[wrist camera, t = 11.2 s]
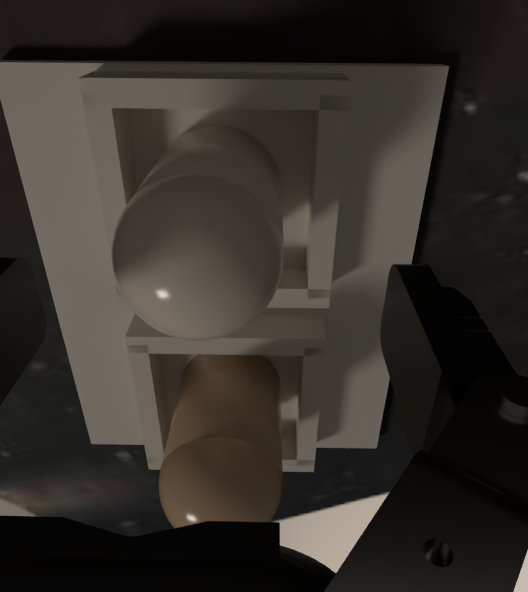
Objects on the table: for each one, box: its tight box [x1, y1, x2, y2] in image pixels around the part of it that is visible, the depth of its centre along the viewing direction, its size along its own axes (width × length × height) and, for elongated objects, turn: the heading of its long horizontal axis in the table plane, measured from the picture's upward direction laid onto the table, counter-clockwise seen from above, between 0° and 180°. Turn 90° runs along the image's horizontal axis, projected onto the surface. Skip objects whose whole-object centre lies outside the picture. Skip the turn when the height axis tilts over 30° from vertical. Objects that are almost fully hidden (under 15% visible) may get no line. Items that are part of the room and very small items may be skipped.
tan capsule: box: [159, 354, 283, 528], centre depth 19 cm, size 4×4×7 cm
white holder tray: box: [0, 60, 449, 472], centre depth 19 cm, size 14×17×2 cm
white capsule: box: [111, 125, 284, 341], centre depth 14 cm, size 4×4×7 cm
